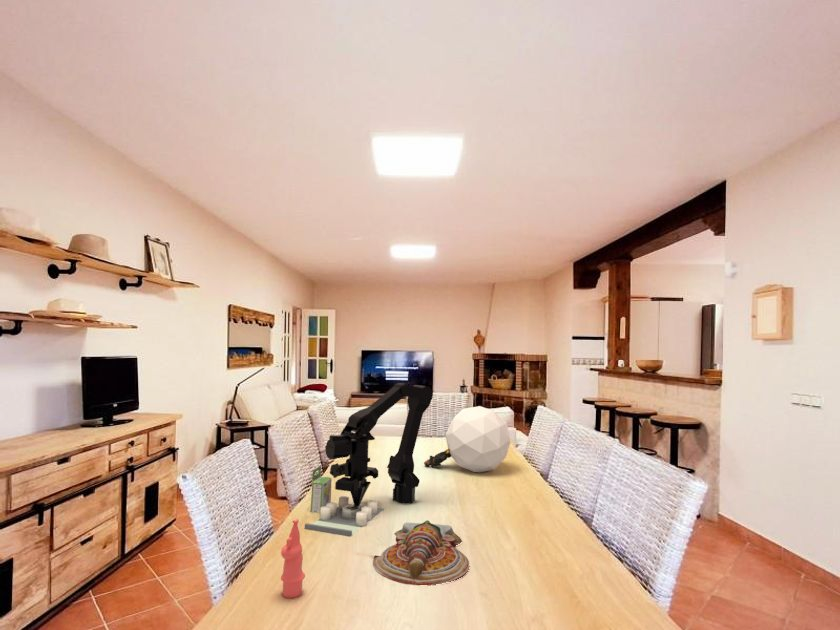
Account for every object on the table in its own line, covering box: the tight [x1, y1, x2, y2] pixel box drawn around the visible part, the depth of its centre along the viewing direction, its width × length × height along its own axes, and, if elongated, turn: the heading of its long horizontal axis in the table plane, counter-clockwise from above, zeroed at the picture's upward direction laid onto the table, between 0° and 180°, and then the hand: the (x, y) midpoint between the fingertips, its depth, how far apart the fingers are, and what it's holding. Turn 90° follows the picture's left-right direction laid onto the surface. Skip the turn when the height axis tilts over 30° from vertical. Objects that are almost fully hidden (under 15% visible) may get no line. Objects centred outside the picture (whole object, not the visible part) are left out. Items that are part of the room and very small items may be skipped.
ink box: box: [310, 465, 333, 514], centre depth 150 cm, size 7×4×13 cm, turn 168°
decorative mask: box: [372, 520, 471, 587], centre depth 121 cm, size 24×8×30 cm
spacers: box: [319, 495, 378, 528], centre depth 145 cm, size 14×14×3 cm
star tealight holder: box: [342, 505, 358, 519], centre depth 145 cm, size 5×5×2 cm
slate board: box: [304, 503, 385, 537], centre depth 143 cm, size 14×24×2 cm, turn 162°
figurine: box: [280, 518, 306, 599], centre depth 102 cm, size 5×5×15 cm
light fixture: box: [423, 405, 511, 473], centre depth 208 cm, size 27×40×28 cm
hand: (356, 506), depth 149 cm, fingers closed
